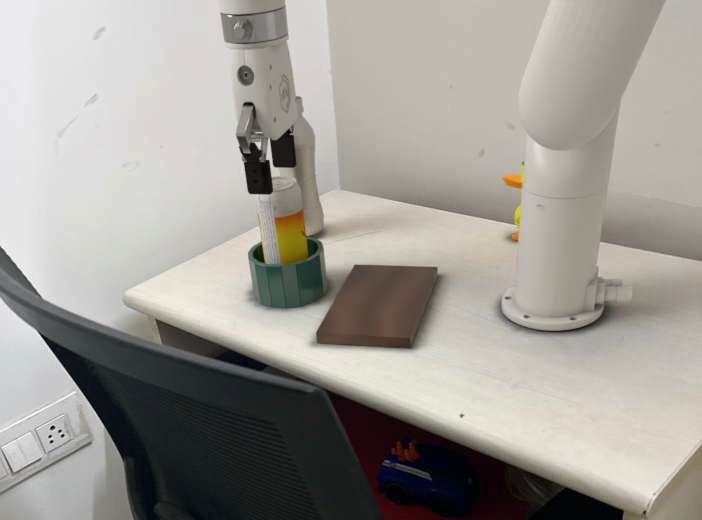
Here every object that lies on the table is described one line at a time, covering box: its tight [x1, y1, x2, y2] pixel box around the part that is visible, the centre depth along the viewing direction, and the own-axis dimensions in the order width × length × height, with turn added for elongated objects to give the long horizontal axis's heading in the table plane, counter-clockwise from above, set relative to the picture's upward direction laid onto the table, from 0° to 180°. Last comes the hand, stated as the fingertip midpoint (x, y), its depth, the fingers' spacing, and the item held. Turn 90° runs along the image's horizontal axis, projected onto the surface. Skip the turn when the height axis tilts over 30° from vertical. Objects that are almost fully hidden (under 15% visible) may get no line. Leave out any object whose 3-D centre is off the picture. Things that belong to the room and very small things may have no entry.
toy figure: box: [501, 160, 524, 241], centre depth 112 cm, size 7×4×12 cm, turn 46°
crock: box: [247, 236, 329, 309], centre depth 108 cm, size 10×10×6 cm
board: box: [315, 264, 439, 349], centre depth 103 cm, size 12×20×2 cm, turn 164°
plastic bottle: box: [278, 95, 325, 237], centre depth 118 cm, size 6×7×20 cm
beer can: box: [254, 175, 309, 265], centre depth 105 cm, size 6×6×15 cm
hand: (273, 179), depth 100 cm, fingers open, 9 cm apart
